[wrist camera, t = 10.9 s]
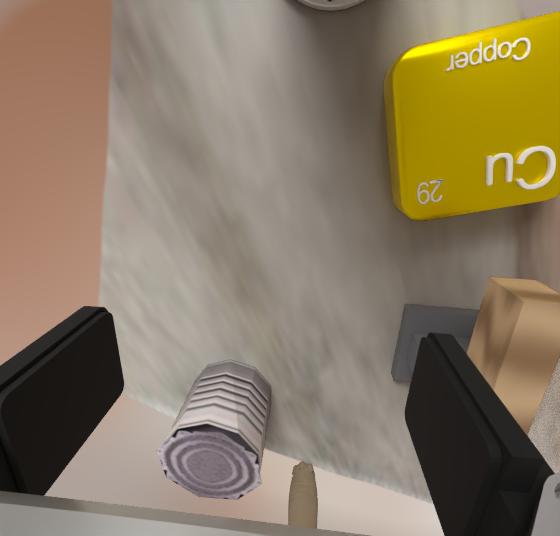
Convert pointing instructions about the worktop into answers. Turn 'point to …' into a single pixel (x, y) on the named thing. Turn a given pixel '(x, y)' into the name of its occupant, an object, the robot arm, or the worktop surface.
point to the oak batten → (517, 343)
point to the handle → (303, 497)
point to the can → (220, 432)
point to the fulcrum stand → (420, 324)
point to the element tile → (476, 120)
